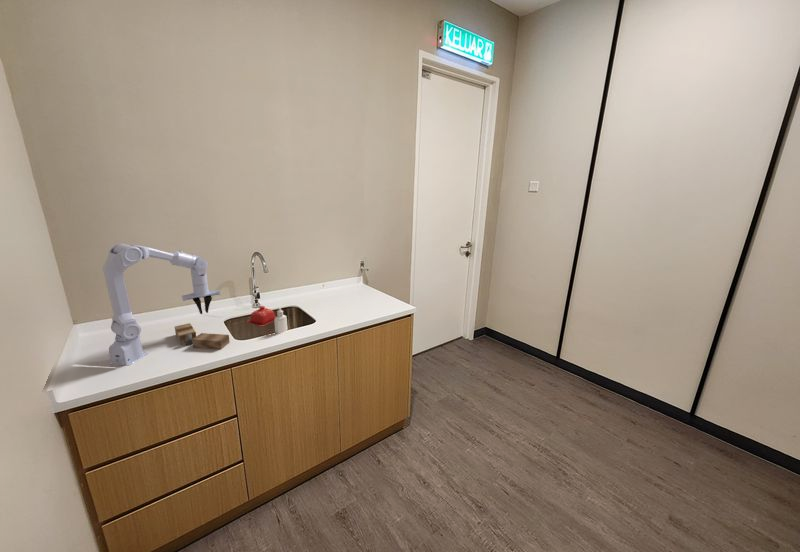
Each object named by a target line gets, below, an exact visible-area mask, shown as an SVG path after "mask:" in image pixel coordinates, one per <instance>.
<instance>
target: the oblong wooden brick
mask: <svg viewBox="0 0 800 552" xmlns="http://www.w3.org/2000/svg"><path fill="white" fill-rule="evenodd" d="M192 343H193V344H192V348H193V349H208V350H222V349H223V348H225V347H226V346H228V345H229V344H230V335H229V334H223V333H221V334H220V333H207V332H206V333H205V332H201V333H200V334H198V335H196V337H195V338H193V339H192Z"/></svg>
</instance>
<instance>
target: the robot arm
mask: <svg viewBox="0 0 800 552" xmlns="http://www.w3.org/2000/svg"><path fill="white" fill-rule="evenodd" d="M148 258H154V259H159V260H162V261H163V260H164V261H169V263H170V264H171V265H172V266H176V267H181V268H185V269H190V276H191V277H190V278H191V283H192V291H193V292H192V293H188V294H183V295H181V299H182V301H183V302H185V301H189V300H193V302H194V303H195V305H196V307H197V309H198V312H199V314H200V315H203V309H202V303H201V302H202V300H201V298H203V300H204V301H203V302H204V311H205V312H206V314H208V313H209V308H210V306H211V305H210V304H211V301H212V300H213V298H212V297H213V296H221V291H220V289H216V290H213V289H212V290H210V289H209V282H208V275H207V268H208V266H209V263H208V262H207V260H206V258H204V257H201V256H198V255H196V254H194V253H192V254H189V253H185V252H184V251H182V250H179V251H174V252H167V251H163V250H160V249H156V248H152V247H149V246H144V245H137V244H127V243H125V242H124V243H122V242H120V243H117V244H115V245H114V246H113V247H111V248H110V249H108V255H107V258H106V260H105V262H104V264H103V266H102V270H103V271H102V272H103V275H104V279H105V283H106V288H107V291H108V296H109V300H110V305H111V309H112V312H113V314H112V317H111V321H112V322H111V325H110V329H111V331H112V332H113V333H114V334H115V337H114V342H113V343H112V344H111V345H109V346H108V353H109V354H108V355H109V358H110V363H109V365H114V366H115V365H117V366H129V367H130V366H131V365H133V364H134V363H136V362H138V361H139V360H141V359H143V358H144V357H146V356H148V355H149V354H150V352H144V351H143V345H142V340H141V335H140V334H141V332H142V329H141V326H140V324H138V323H137V319H136V317H135V316H134V314H133V313H132V308H131V303H130V300H129V295H128V291H127V286H126V281H125V276H124V272H125V271H126V270H127V269H128V268H129V267H131V266H133V265H134V264H137V263H139V262H140V261H142V260H146V259H148Z"/></svg>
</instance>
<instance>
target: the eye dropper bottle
mask: <svg viewBox="0 0 800 552" xmlns="http://www.w3.org/2000/svg"><path fill="white" fill-rule="evenodd" d="M276 312H277V313H276V314H277V316H275V317H276V318H275V319H274V322H273V323H274V333H275V334H278V333H279V334H283V333H284V332H287V331H288V318H287V317H288V316H287V315H285V314H284V310H282V308H281V307H279V308H278V310H277V311H276Z"/></svg>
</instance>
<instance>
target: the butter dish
mask: <svg viewBox="0 0 800 552" xmlns="http://www.w3.org/2000/svg"><path fill="white" fill-rule="evenodd" d="M276 317H277V316H276V314H275V311H274V310H272V309H270V308H266V307H265V305H260V306H259V307H258V309H256V310H254V311H253V312H252V313H251V315H250V319H249V320H247V321H246V323H248V324H251V325H254V326H258V327H264V326H267V325H268V324H271V323H275V322H274V319H275V318H276Z"/></svg>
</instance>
